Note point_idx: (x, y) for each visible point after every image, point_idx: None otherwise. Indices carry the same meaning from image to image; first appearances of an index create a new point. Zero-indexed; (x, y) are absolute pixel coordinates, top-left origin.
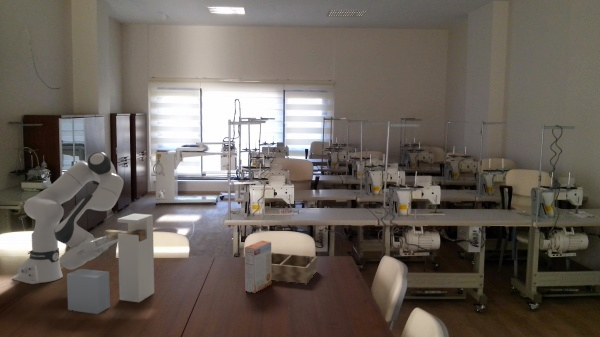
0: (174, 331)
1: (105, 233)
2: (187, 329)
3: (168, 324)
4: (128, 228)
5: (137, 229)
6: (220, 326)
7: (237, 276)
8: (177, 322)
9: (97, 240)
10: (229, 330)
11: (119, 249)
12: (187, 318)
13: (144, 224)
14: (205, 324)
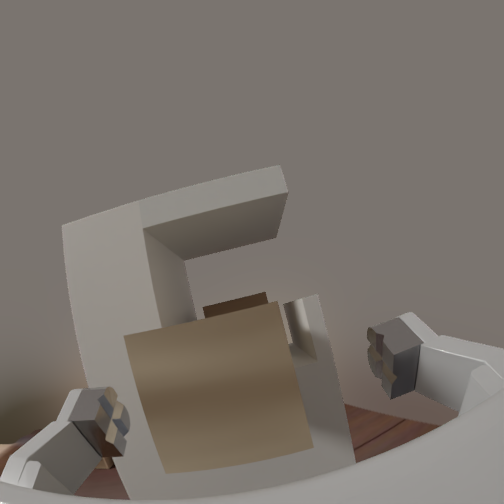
0: (417, 421)
1: (287, 352)
2: (396, 421)
3: (406, 440)
4: (160, 315)
5: (203, 307)
6: (352, 417)
7: (84, 489)
8: (387, 442)
9: (501, 353)
10: (355, 408)
11: (345, 423)
12: (360, 447)
13: (186, 282)
14: (361, 426)
